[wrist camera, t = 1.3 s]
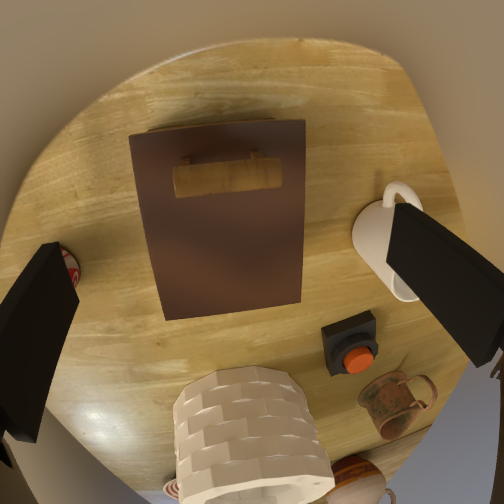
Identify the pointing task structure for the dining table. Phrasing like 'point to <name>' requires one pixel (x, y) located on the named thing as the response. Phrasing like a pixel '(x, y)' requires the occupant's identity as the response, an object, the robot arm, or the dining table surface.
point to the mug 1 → (383, 237)
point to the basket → (248, 441)
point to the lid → (223, 214)
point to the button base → (348, 340)
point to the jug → (357, 483)
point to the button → (358, 360)
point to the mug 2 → (393, 403)
